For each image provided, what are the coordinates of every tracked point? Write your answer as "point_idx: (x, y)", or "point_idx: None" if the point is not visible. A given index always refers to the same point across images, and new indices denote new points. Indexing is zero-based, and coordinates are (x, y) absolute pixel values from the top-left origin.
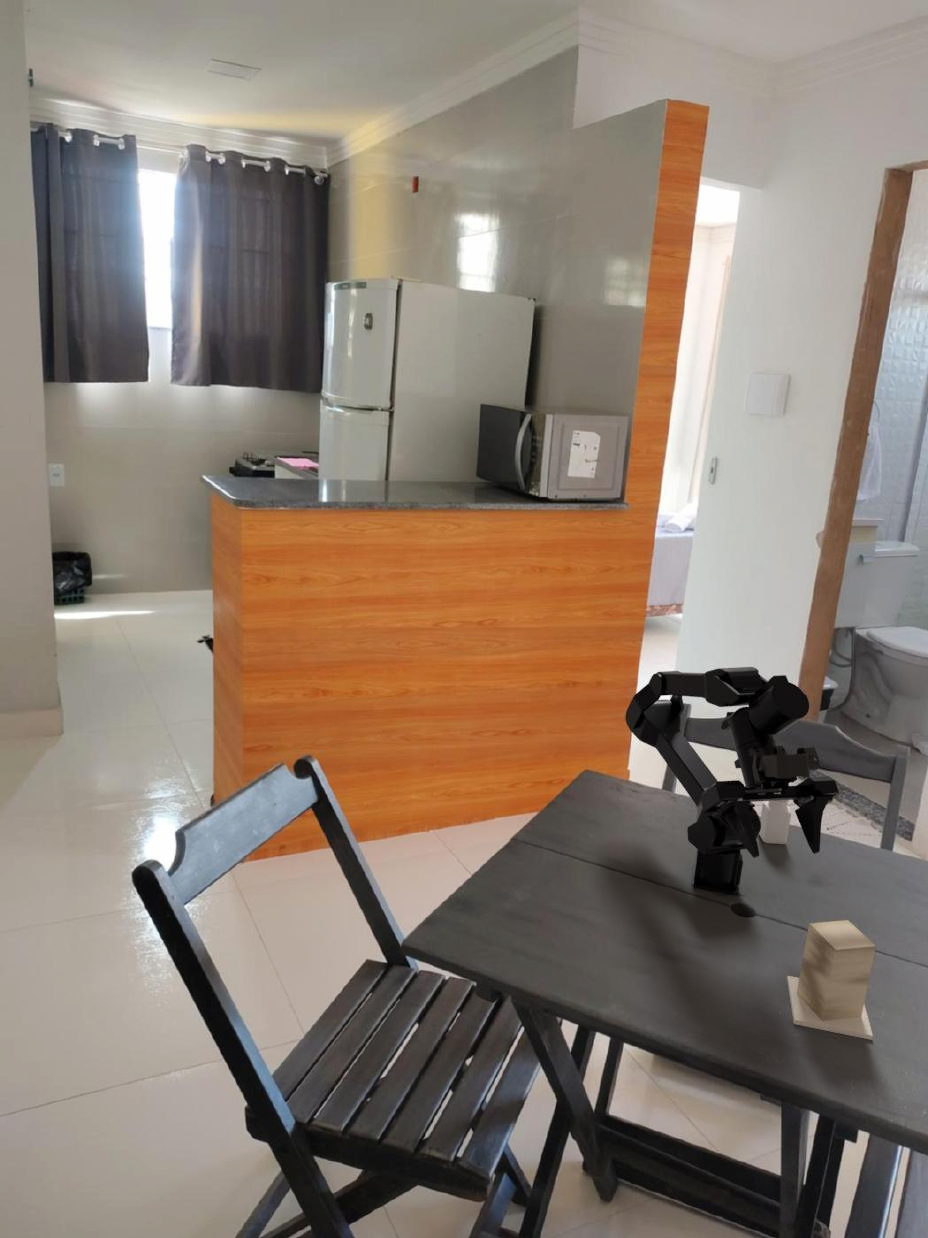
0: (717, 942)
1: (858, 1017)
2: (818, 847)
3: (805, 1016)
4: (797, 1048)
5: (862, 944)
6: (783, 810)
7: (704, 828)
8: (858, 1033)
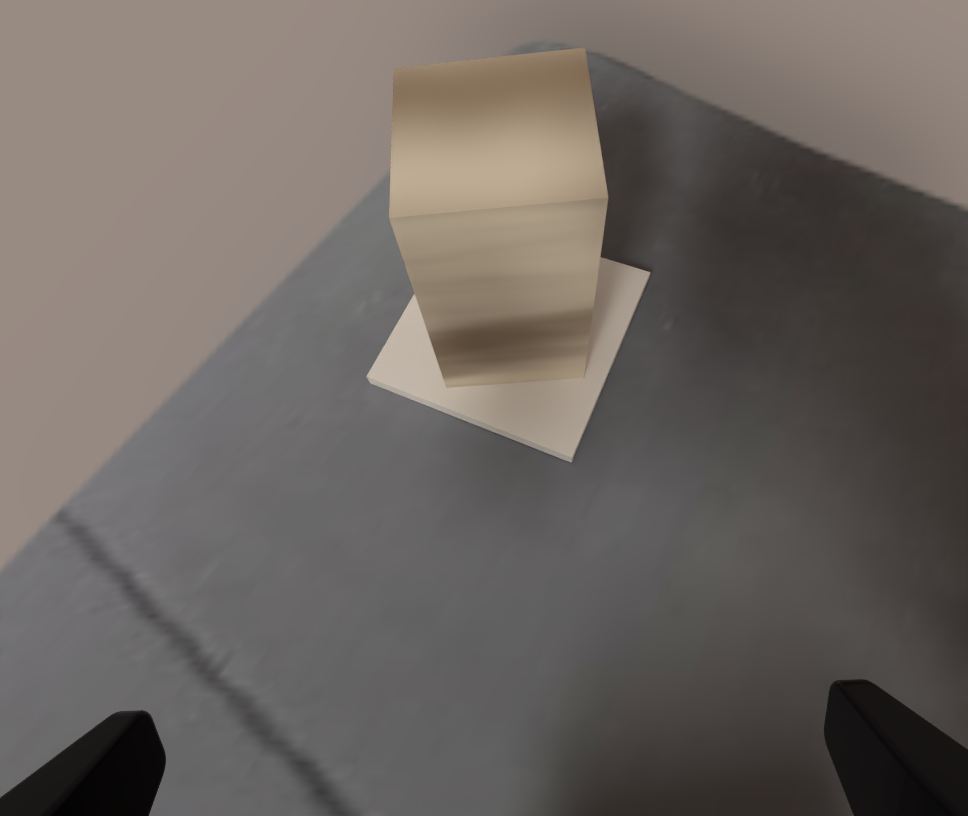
0: (763, 722)
1: None
2: (97, 735)
3: (610, 282)
4: (678, 207)
5: (444, 74)
6: None
7: None
8: None
